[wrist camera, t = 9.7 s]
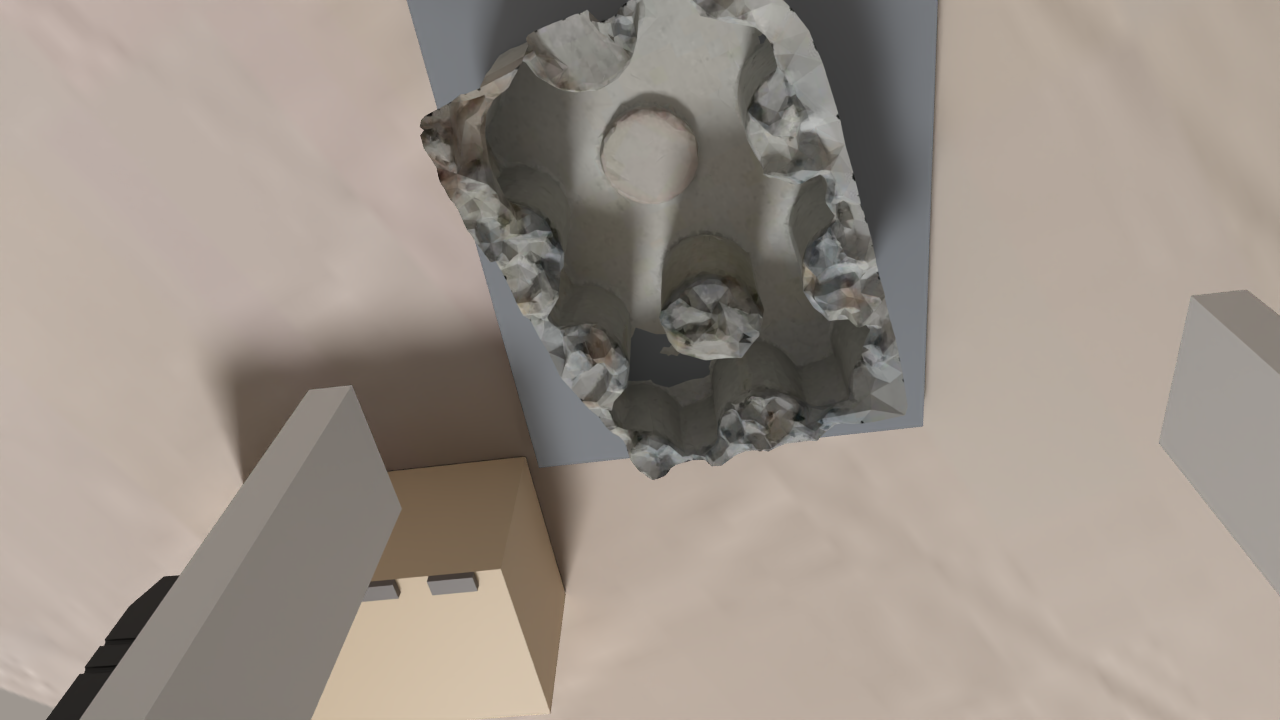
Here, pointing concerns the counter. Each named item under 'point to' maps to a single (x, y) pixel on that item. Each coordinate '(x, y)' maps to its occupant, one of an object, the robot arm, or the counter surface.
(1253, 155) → the counter surface
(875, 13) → the mat
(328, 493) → the robot arm
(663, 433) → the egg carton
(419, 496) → the sleeve
